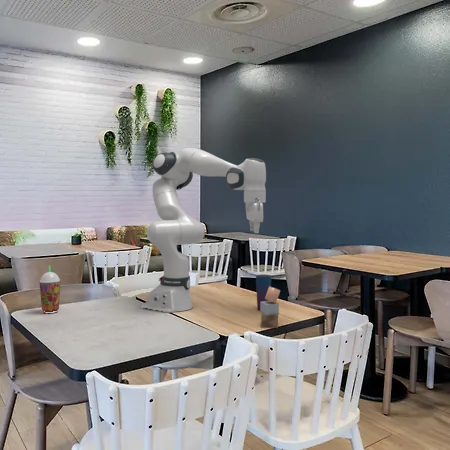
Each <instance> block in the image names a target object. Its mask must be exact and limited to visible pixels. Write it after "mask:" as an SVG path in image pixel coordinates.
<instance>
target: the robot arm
mask: <svg viewBox="0 0 450 450" xmlns="http://www.w3.org/2000/svg"><path fill="white" fill-rule="evenodd" d="M151 167H152V169H153V171H154V172H155V173H156V174H158V175H159V176H161V177H160V178H158V179H157V180H155V181H154V183H153V184H152V197H153V202H154V205H155V209H156V212H157V215H158V217H159V218H160V219H161V220H157V221H152V222H151V223H150V224H149V226H148V227H147V231H146V232H147V233H146V236H147V238H148V241H149V242H150V243H151V244H152V245H153V246H155V247H156V248H157V249H158V250H159V253H160V254H161V257H162V263H163V276H161V277H159V278H158V282H160V284H158V285H157V286H156V287H155V288H153V289H152V290H150V292H149V293H148V295H147V297H146V302H143V303H142V304H141V308H142V307H143V308H148V309H147V310H149V309H155V310H159V311H158V312H161V311H163V312H162V313H169V314H170V313H174V312H183V311H189V310H191V309H192V308H193V307H194V306H193V303H192V299H191V293H190V291H191V289H190V288H191V277H190V276H191V275H190V259H189V258H188V256H187V255H186V254H184V253H182V252H181V251H179V250H178V247H177V246H180V245H183V246H184V245H185V246H186V245H193V244H194V245H195V244H196V243H197V244H198V243H200V242H202V241H203V239H204V237H205V227H204V225H203V223H202V222H201V221H199V220H198V219H195V218H193V217H192V216H191V215H190V214H188V212H186V211H185V210H184V208H183V206H182V204H181V202H180V198H179V195H178V193H177V191H178V190H182V189H183V188H185V187H187V186H189V184H190V183H191V182H192V181H193V178H194V177H193V176H194V174H196V175H197V176H201V177H223V178H224V177H225V183H226V185H227V187H228V188H229V189H231V190H235V191H243V203H245V215H246V219H247V220H248V221H249V228H250V229H249V230H250V232H253V233H254V234H259V232H260V226H261V223H264V204H265V203H266V202H267V200H266V196H267V193H266V192H267V191H266V182H267V170H266V169H267V168H266V163H265V161H264V160H262V159H260V158H255V157H254V158H253V157H247V158H246V159H245V160H244V161H243V162H242V163H240V164H238V165H237V164H235V163H232V162H229V161H226V160H224V159H222V158H220V157H218V156H216V155H214V154H212V153H210V152H207V151H205V150H203V149H200V148H195V147H185V148H183V149H182V150H181V151H180V153H179V154H176V153H175V152H174V151H169V152H165V151H164V152H161V153H159V154H157V155H156V156H155V157H154V158H153V161H152V166H151ZM263 203H264V204H263ZM143 308H142V309H143ZM155 310H154V311H155Z"/></svg>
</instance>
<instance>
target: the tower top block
mask: <svg viewBox="0 0 450 450" xmlns="http://www.w3.org/2000/svg"><path fill="white" fill-rule="evenodd" d="M279 305H280V304H279V303H278V302H276V303H274V302H271V301H263V302H260V313H263V314H265V315H273V314H278V315H279V310H280V309H279V308H280V307H279Z"/></svg>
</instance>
